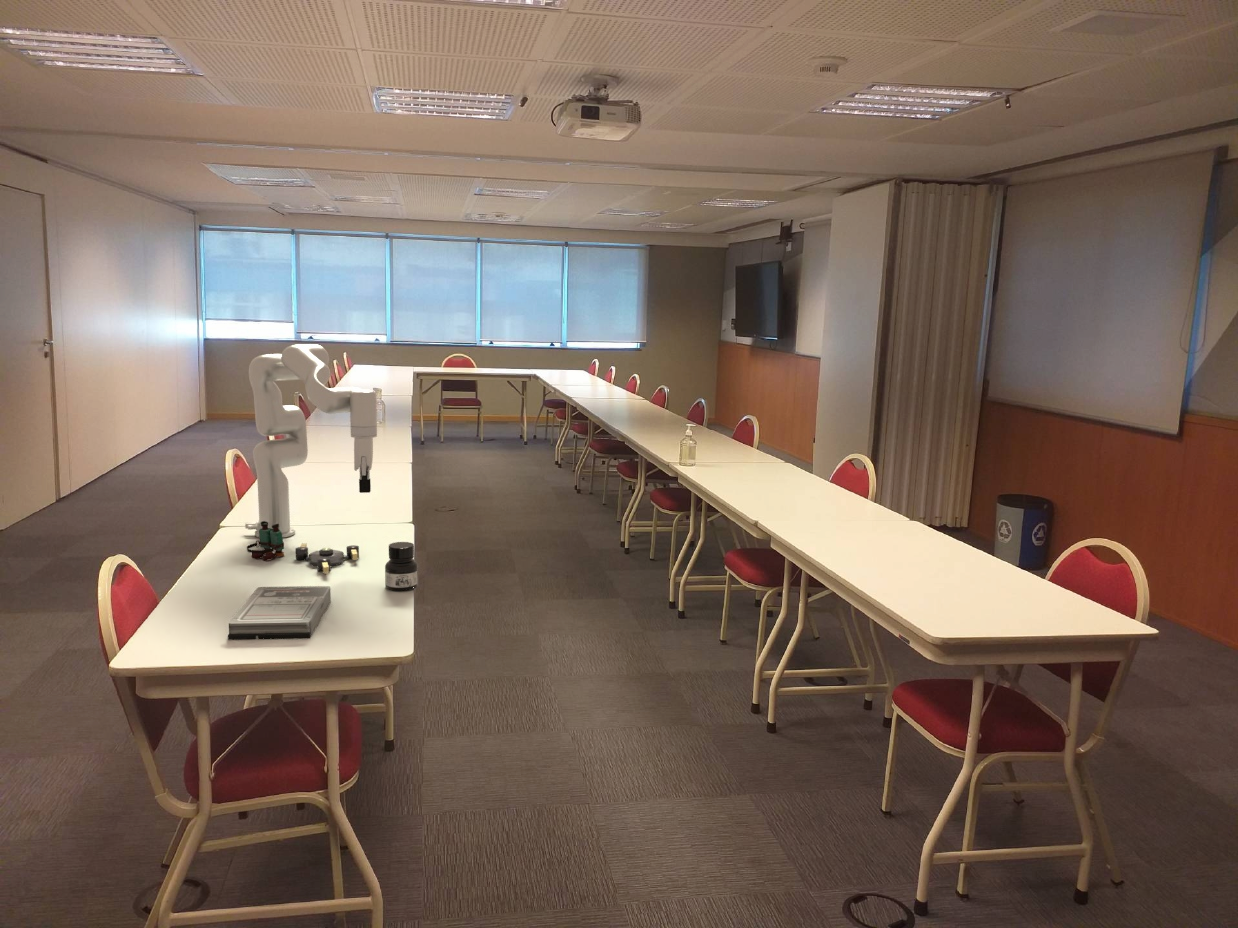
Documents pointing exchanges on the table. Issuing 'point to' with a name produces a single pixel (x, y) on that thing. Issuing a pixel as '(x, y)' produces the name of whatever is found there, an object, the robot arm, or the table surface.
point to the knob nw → (301, 552)
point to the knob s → (324, 565)
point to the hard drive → (280, 613)
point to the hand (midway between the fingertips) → (365, 491)
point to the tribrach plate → (327, 556)
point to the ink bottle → (401, 567)
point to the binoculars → (268, 543)
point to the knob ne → (353, 552)
